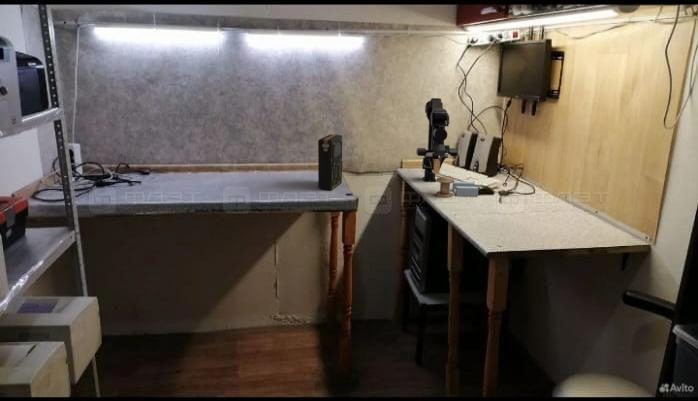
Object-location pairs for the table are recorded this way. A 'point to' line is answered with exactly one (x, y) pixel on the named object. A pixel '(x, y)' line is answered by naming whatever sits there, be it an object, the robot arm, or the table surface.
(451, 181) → the tan door knob
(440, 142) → the robot arm
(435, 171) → the brown wooden block
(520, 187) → the table surface
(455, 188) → the bracket
